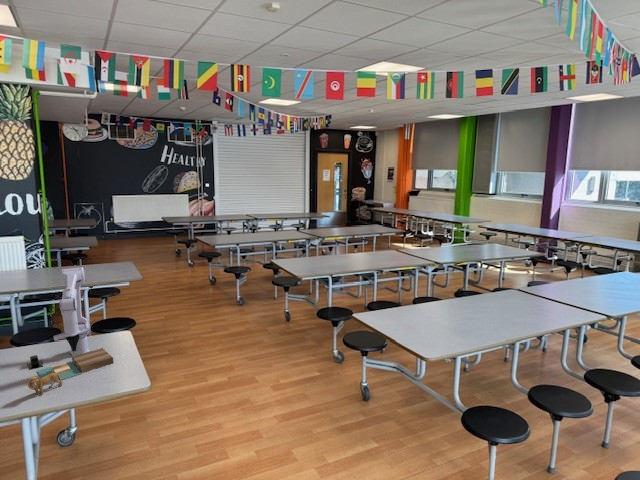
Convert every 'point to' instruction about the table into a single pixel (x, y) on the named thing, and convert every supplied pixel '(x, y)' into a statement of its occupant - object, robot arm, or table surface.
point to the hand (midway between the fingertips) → (74, 350)
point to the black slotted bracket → (34, 363)
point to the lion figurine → (43, 382)
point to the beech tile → (61, 369)
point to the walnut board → (92, 360)
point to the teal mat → (73, 373)
